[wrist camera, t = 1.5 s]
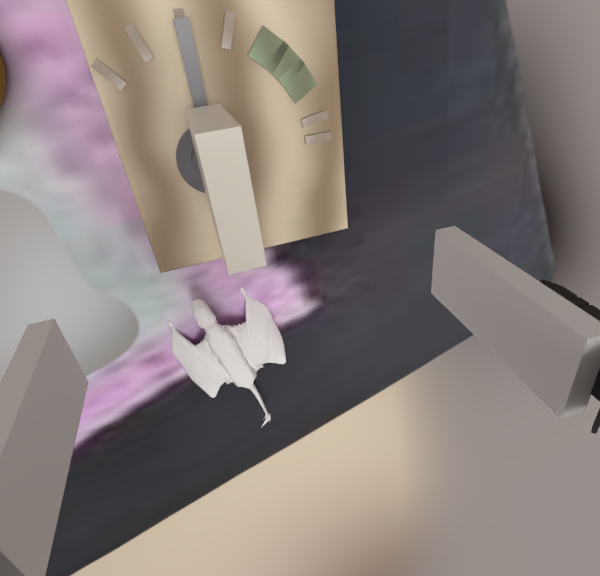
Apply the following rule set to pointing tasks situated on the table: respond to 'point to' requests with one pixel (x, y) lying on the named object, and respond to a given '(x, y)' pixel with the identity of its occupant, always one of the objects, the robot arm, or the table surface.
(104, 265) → the table surface
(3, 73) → the mug
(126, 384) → the table surface
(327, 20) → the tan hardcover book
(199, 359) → the winged dragon toy
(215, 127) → the white upright block
